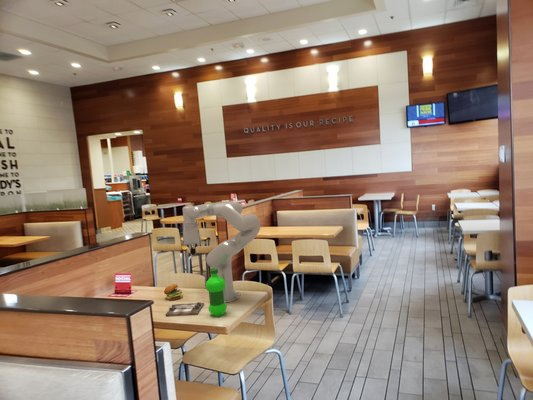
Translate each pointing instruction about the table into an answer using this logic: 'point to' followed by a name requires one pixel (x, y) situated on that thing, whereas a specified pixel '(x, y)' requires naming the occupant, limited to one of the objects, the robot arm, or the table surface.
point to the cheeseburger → (173, 292)
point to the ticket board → (185, 309)
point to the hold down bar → (184, 306)
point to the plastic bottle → (216, 293)
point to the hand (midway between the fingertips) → (193, 254)
